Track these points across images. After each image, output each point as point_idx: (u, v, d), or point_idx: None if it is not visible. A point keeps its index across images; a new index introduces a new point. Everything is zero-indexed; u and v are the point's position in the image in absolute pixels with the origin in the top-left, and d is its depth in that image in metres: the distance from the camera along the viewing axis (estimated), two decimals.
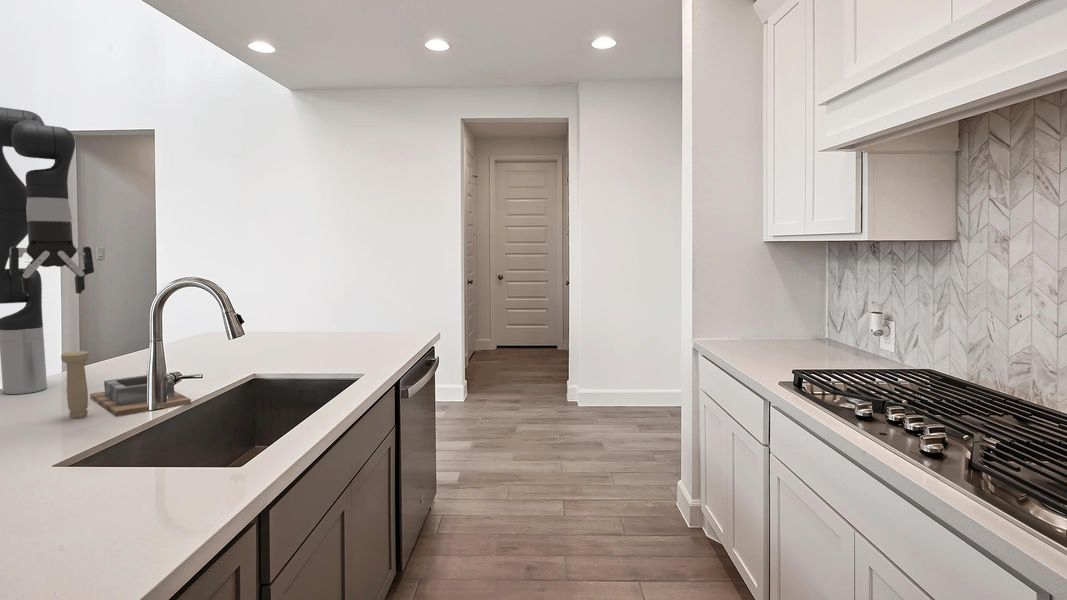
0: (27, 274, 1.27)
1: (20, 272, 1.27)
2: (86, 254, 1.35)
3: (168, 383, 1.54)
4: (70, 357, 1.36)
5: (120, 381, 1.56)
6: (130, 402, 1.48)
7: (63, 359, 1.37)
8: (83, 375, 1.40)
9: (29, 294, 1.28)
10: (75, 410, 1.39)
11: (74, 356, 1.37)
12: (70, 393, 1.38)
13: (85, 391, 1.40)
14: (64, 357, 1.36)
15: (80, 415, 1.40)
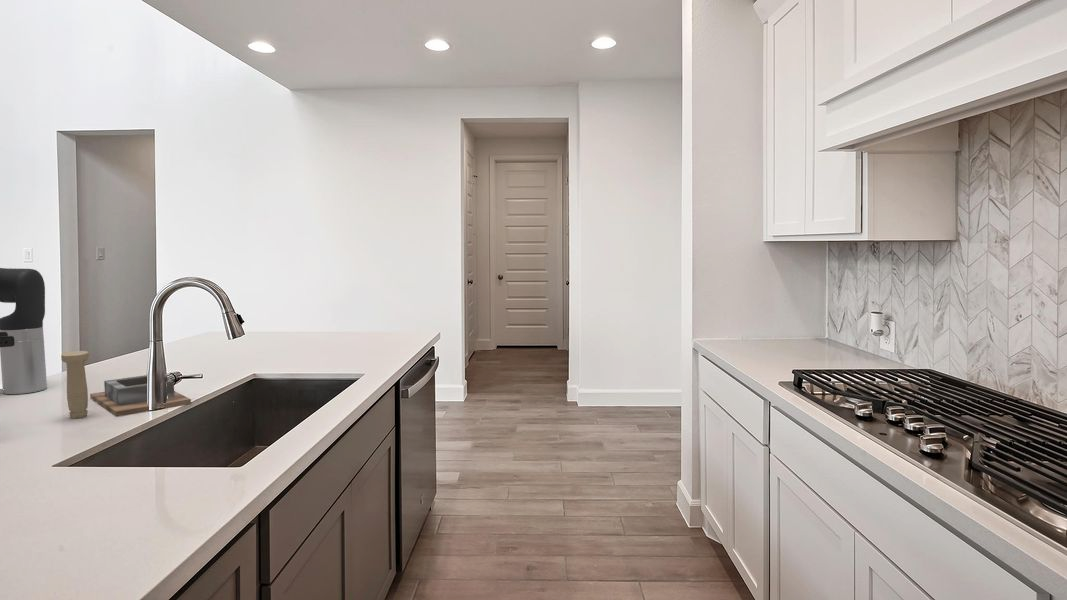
0: None
1: None
2: None
3: (168, 383, 1.54)
4: (70, 357, 1.36)
5: (120, 381, 1.56)
6: (130, 402, 1.48)
7: (63, 359, 1.37)
8: (83, 375, 1.40)
9: None
10: (75, 410, 1.39)
11: (74, 356, 1.37)
12: (70, 393, 1.38)
13: (85, 391, 1.40)
14: (64, 357, 1.36)
15: (80, 415, 1.40)
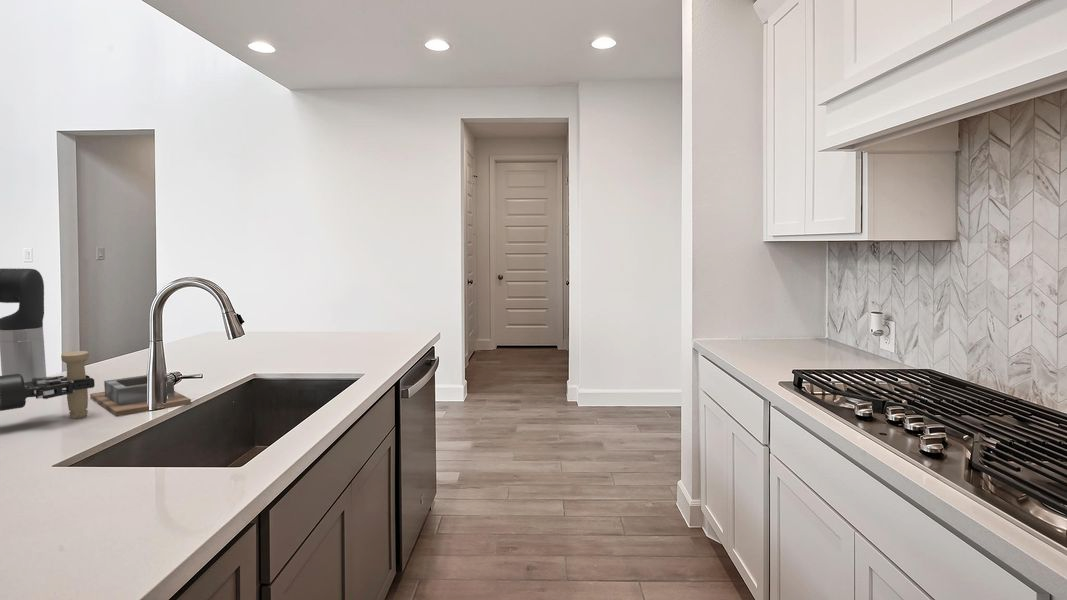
0: None
1: None
2: None
3: (168, 383, 1.54)
4: (70, 357, 1.36)
5: (120, 381, 1.56)
6: (130, 402, 1.48)
7: (63, 359, 1.37)
8: (83, 375, 1.40)
9: None
10: (75, 410, 1.39)
11: (74, 356, 1.37)
12: None
13: (85, 391, 1.40)
14: (64, 357, 1.36)
15: (80, 415, 1.40)
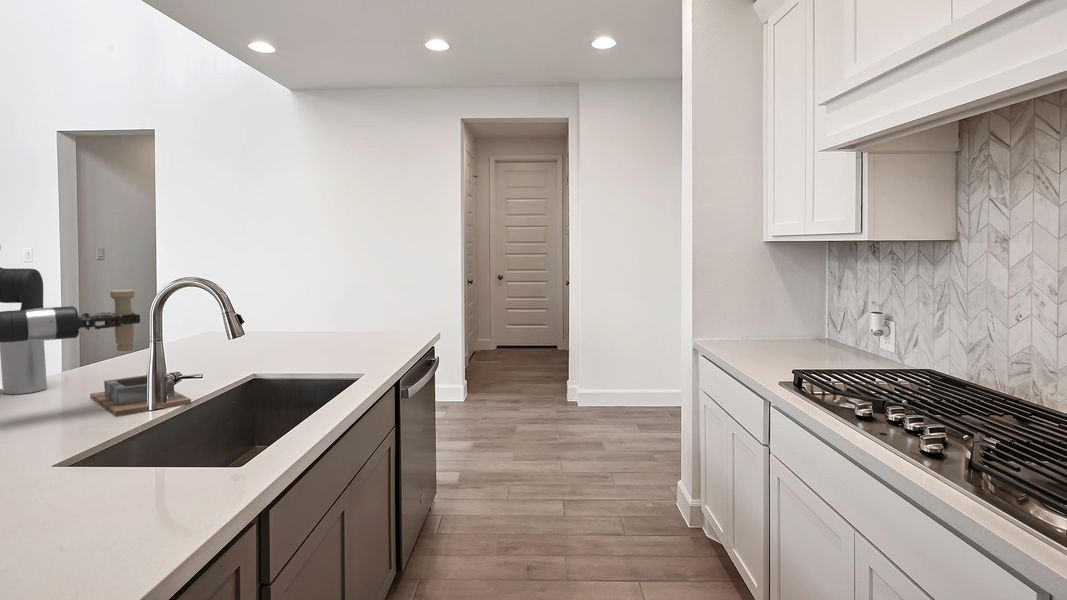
0: (113, 323, 1.51)
1: None
2: (101, 327, 1.43)
3: (168, 383, 1.54)
4: (119, 293, 1.47)
5: (120, 381, 1.56)
6: (130, 402, 1.48)
7: (112, 295, 1.47)
8: (130, 311, 1.50)
9: None
10: (122, 343, 1.49)
11: (122, 292, 1.47)
12: (118, 327, 1.48)
13: (131, 326, 1.50)
14: (113, 293, 1.46)
15: (127, 348, 1.50)
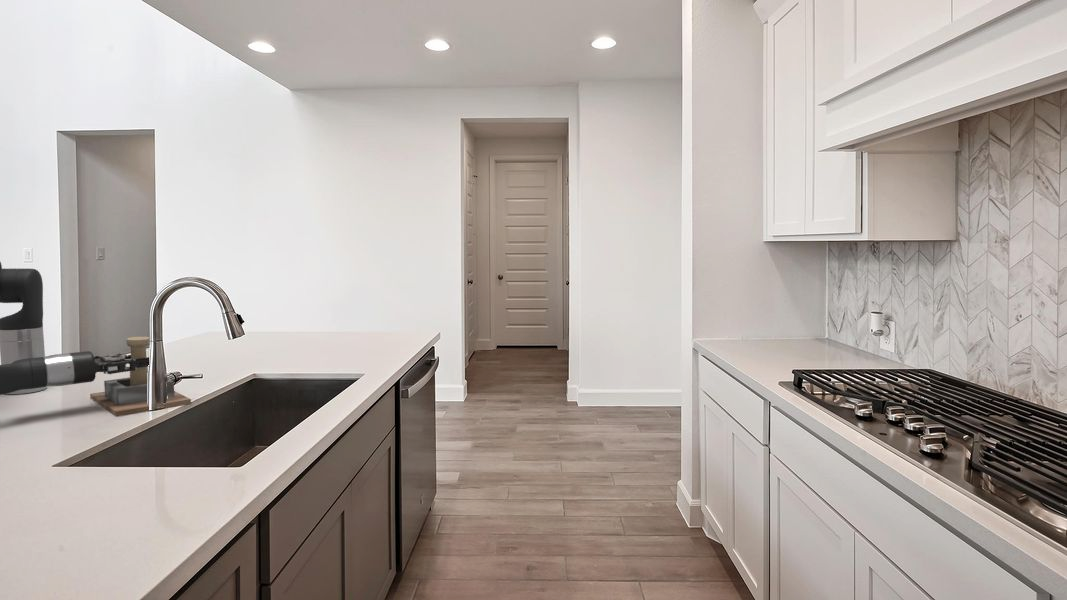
0: None
1: None
2: None
3: (168, 383, 1.54)
4: (135, 341, 1.51)
5: (120, 381, 1.56)
6: (130, 402, 1.48)
7: (128, 343, 1.51)
8: None
9: None
10: None
11: (138, 340, 1.51)
12: (133, 374, 1.52)
13: (146, 373, 1.54)
14: (130, 341, 1.51)
15: None
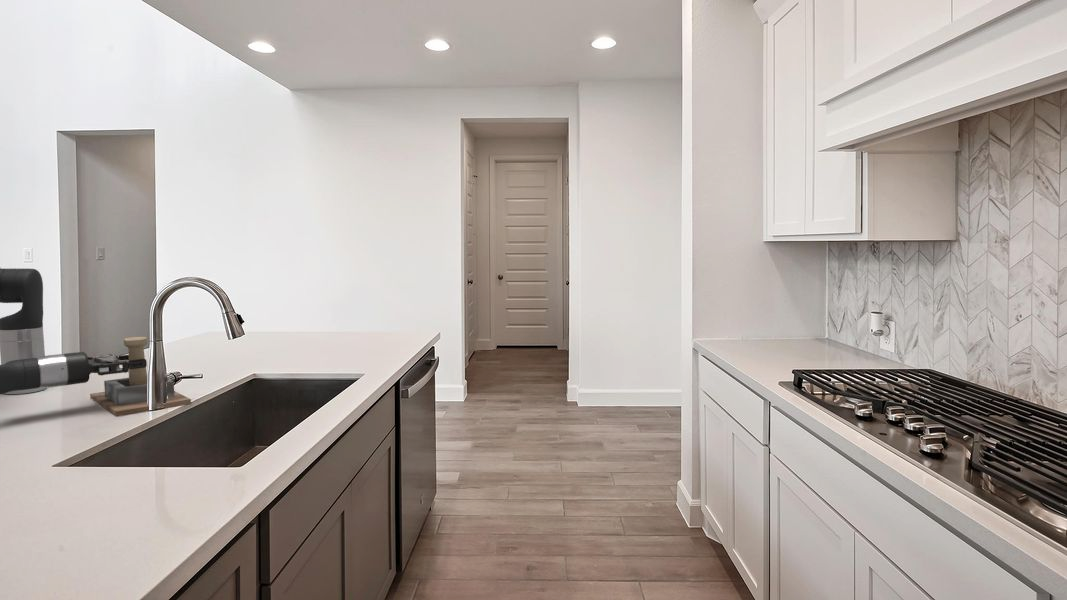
0: None
1: None
2: None
3: (168, 383, 1.54)
4: (132, 341, 1.51)
5: (120, 381, 1.56)
6: (130, 402, 1.48)
7: (126, 343, 1.51)
8: (143, 358, 1.54)
9: None
10: None
11: (136, 341, 1.51)
12: (132, 374, 1.52)
13: (145, 373, 1.54)
14: (127, 342, 1.50)
15: None
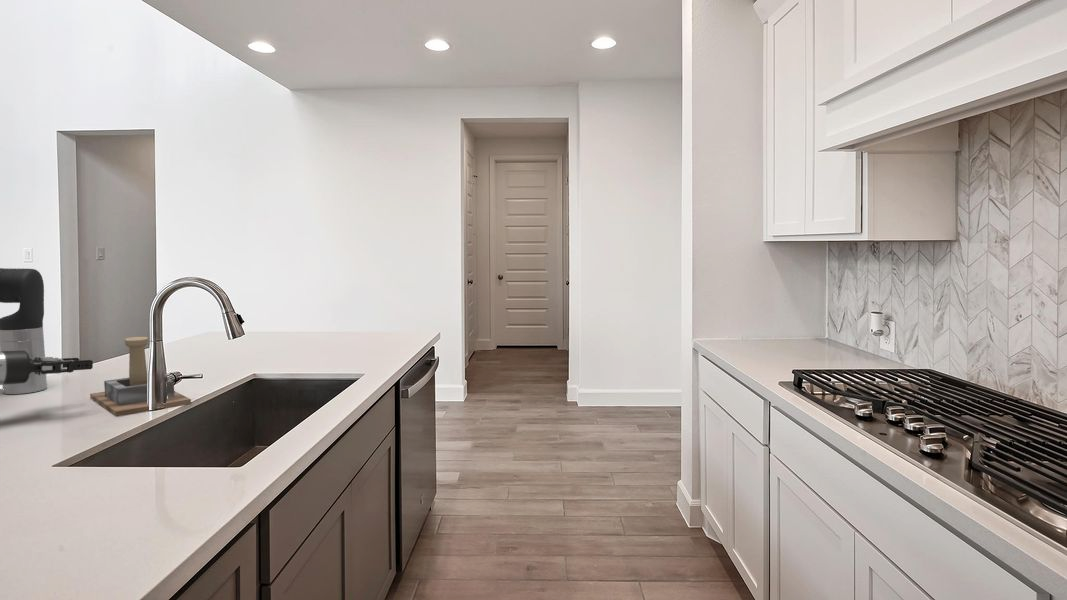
0: None
1: None
2: (49, 372, 1.37)
3: (168, 383, 1.54)
4: (133, 342, 1.51)
5: (120, 381, 1.56)
6: (130, 402, 1.48)
7: (127, 343, 1.51)
8: (144, 358, 1.54)
9: None
10: None
11: (137, 341, 1.51)
12: (133, 374, 1.52)
13: (145, 373, 1.54)
14: (128, 342, 1.50)
15: None
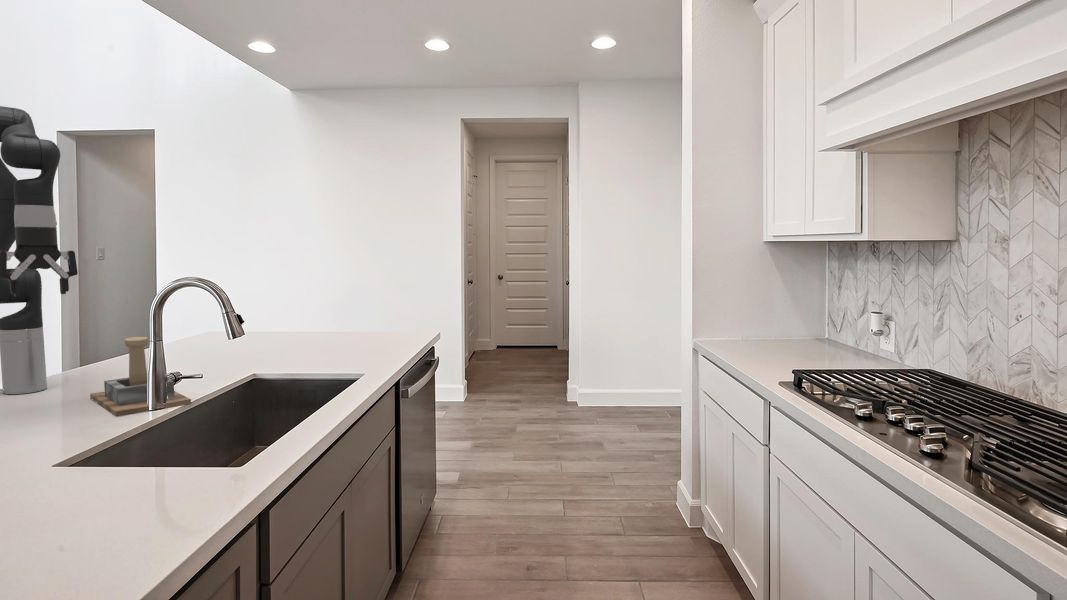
0: (14, 276, 1.37)
1: (8, 274, 1.37)
2: (70, 257, 1.45)
3: (168, 383, 1.54)
4: (133, 342, 1.51)
5: (120, 381, 1.56)
6: (130, 402, 1.48)
7: (127, 343, 1.51)
8: (143, 358, 1.54)
9: (16, 294, 1.38)
10: None
11: (136, 341, 1.51)
12: (132, 374, 1.52)
13: (145, 373, 1.54)
14: (128, 342, 1.50)
15: None
